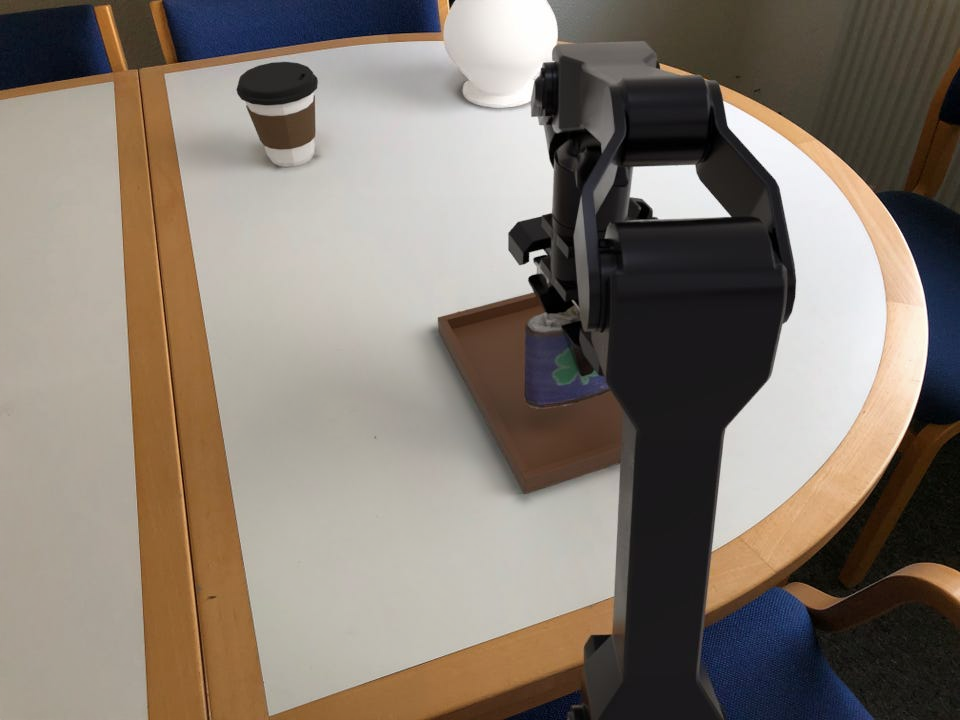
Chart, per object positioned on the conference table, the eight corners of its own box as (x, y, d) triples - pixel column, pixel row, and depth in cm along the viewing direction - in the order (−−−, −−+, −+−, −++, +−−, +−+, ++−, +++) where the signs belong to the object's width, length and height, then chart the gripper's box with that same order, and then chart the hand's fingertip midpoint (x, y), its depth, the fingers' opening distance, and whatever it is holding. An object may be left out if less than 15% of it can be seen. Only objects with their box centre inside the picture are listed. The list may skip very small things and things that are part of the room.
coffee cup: (337, 139, 119) (324, 60, 111) (319, 177, 111) (304, 94, 103) (266, 137, 120) (249, 59, 112) (244, 174, 112) (223, 93, 104)
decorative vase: (557, 115, 123) (564, -62, 106) (442, 116, 124) (431, -60, 107) (554, 68, 136) (560, -96, 119) (450, 69, 137) (441, -94, 120)
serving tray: (697, 437, 74) (701, 422, 72) (524, 494, 70) (524, 479, 68) (584, 293, 90) (586, 278, 89) (438, 332, 86) (437, 317, 84)
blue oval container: (612, 370, 75) (623, 279, 68) (625, 391, 73) (638, 299, 66) (519, 393, 73) (521, 301, 66) (530, 414, 71) (533, 322, 64)
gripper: (753, 253, 55) (714, 408, 66) (624, 138, 68) (609, 283, 79) (611, 290, 53) (594, 446, 63) (505, 163, 66) (506, 310, 76)
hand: (578, 362), depth 71 cm, fingers closed on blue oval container, 3 cm apart
